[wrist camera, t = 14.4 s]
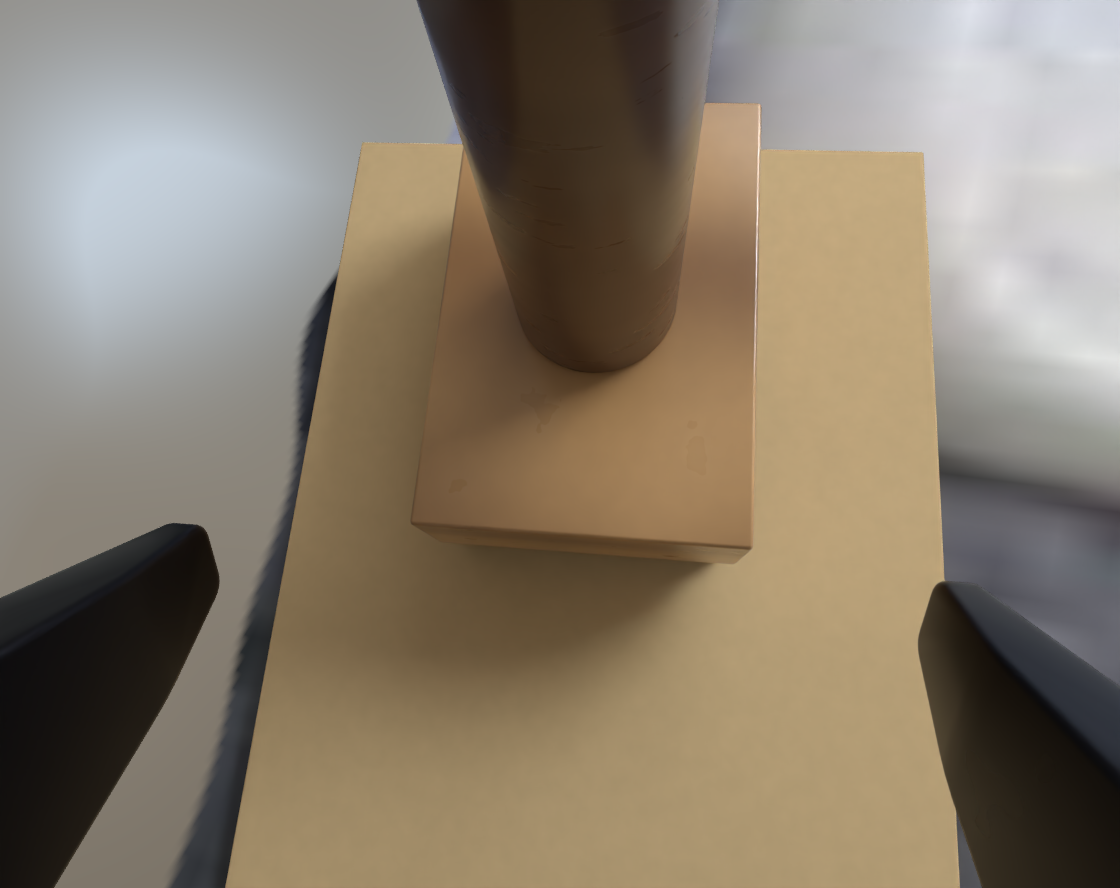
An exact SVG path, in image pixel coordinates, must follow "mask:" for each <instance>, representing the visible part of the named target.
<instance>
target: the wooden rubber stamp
mask: <svg viewBox="0 0 1120 888" xmlns="http://www.w3.org/2000/svg"><path fill="white" fill-rule="evenodd" d="M417 3H418V6H419V9H420V12H421V16H422V19H423V21H424V25H425V28H426V31H427V34H428V37H429V41H430V44H431V47H432V50H433V53H434V56H435V59H436V62H437V66H438V69H439V72H440V75H441V78H442V81H443V84H444V87H445V90H446V94H447V97H448V100H449V103H450V106H451V109H452V112H453V115H454V118H455V122H456V125H457V128H458V131H459V134H460V137H461V140H462V143H463V152H462V159H461V166H460V173H459V180H458V188H457V195H456V202H455V209H454V216H453V223H452V230H451V237H450V244H449V251H448V258H447V265H446V272H445V279H444V286H443V293H442V300H441V307H440V314H439V322H438V329H437V336H436V343H435V350H434V357H433V364H432V371H431V378H430V385H429V392H428V399H427V406H426V413H425V420H424V427H423V434H422V441H421V448H420V456H419V463H418V470H417V477H416V484H415V491H414V498H413V505H412V512H411V519H410V522H411V524H412V525H413V526H415V527H417V528H418V529H420V530H422V531H423V532H425V533H427V534H428V535H430V536H431V537H433V538H435V539H436V540H438V541H440V542H444V543H457V544H470V545H484V546H497V547H510V548H523V549H536V550H549V551H562V552H575V553H588V554H602V555H615V556H628V557H641V558H654V559H667V560H680V561H693V562H706V563H720V564H735V563H737V562H738V561H739V560H740V559H741V558H742V557H744V556H745V555H746V554H747V553H748V552H749V551H751V550H752V548H753V546H754V494H755V439H756V383H757V328H758V273H759V218H760V163H761V105H760V104H750V103H705V98H706V91H707V84H708V76H709V69H710V62H711V55H712V48H713V41H714V34H715V27H716V20H717V12H718V5H719V0H417Z"/></svg>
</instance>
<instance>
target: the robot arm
mask: <svg viewBox="0 0 1120 888" xmlns="http://www.w3.org/2000/svg"><path fill="white" fill-rule="evenodd" d="M218 589H219V573H218V569H217V566H216V562H215V559H214V555H213V551H212V548H211V544H210V541H209V537H208V534H207V532H206V531H205V529H204V528H203V527H201V526H199V525H193V524H180V523H171V524H167V525H164V526H162V527H160V528H157V529H155V530H153V531H151V532H148V533H146V534H144V535H141V536H139V537H137V538H135V539H132V540H130V541H128V542H126V543H123V544H121V545H119V546H117V547H114V548H112V549H110V550H108V551H105V552H103V553H101V554H98V555H96V556H94V557H92V558H89V559H87V560H85V561H83V562H80V563H78V564H76V565H74V566H71V567H69V568H67V569H65V570H62V571H60V572H58V573H56V574H53V575H51V576H49V577H46V578H44V579H42V580H40V581H37V582H35V583H33V584H31V585H28V586H26V587H24V588H22V589H19V590H17V591H15V592H13V593H10V594H8V595H6V596H3V597H2V598H0V888H54V887H55V885H56V884H57V882H58V880H59V879H60V877H61V875H62V873H63V872H64V870H65V869H66V867H67V865H68V864H69V862H70V860H71V859H72V857H73V855H74V854H75V852H76V850H77V849H78V847H79V845H80V844H81V842H82V840H83V839H84V837H85V835H86V834H87V832H88V830H89V829H90V827H91V825H92V824H93V822H94V820H95V819H96V817H97V815H98V814H99V812H100V810H101V809H102V807H103V805H104V804H105V802H106V800H107V799H108V797H109V795H110V794H111V792H112V790H113V789H114V787H115V785H116V784H117V782H118V780H119V779H120V777H121V776H122V774H123V772H124V770H125V768H126V767H127V766H128V764H129V762H130V761H131V759H132V757H133V756H134V754H135V752H136V751H137V749H138V747H139V746H140V744H141V742H142V741H143V739H144V737H145V735H146V734H147V732H148V731H149V729H150V727H151V725H152V724H153V722H154V721H155V719H156V717H157V716H158V714H159V712H160V710H161V709H162V707H163V705H164V703H165V702H166V700H167V698H168V696H169V694H170V692H171V690H172V688H173V686H174V684H175V682H176V680H177V679H178V676H179V674H180V672H181V670H182V668H183V666H184V664H185V661H186V659H187V657H188V655H189V653H190V651H191V649H192V647H193V644H194V642H195V640H196V638H197V636H198V634H199V632H200V630H201V627H202V625H203V623H204V621H205V619H206V617H207V615H208V613H209V610H210V608H211V606H212V604H213V602H214V600H215V598H216V595H217V593H218ZM918 654H919V659H920V664H921V668H922V673H923V678H924V683H925V687H926V692H927V697H928V701H929V706H930V711H931V715H932V720H933V725H934V729H935V734H936V739H937V743H938V748H939V753H940V757H941V761H942V765H943V769H944V774H945V777H946V781H947V784H948V787H949V790H950V793H951V797H952V800H953V803H954V806H955V809H956V812H957V815H958V817H959V820H960V823H961V826H962V829H963V832H964V835H965V838H966V841H967V844H968V847H969V850H970V853H971V856H972V859H973V862H974V865H975V868H976V871H977V874H978V877H979V880H980V882H981V885H982V888H1120V686H1118V685H1117V684H1116V683H1114V682H1113V681H1112V680H1110V679H1109V678H1107V677H1106V676H1105V675H1103V674H1102V673H1100V672H1099V671H1098V670H1096V669H1095V668H1093V667H1092V666H1091V665H1089V664H1088V663H1086V662H1085V661H1084V660H1082V659H1081V658H1079V657H1078V656H1077V655H1075V654H1074V653H1072V652H1071V651H1070V650H1068V649H1067V648H1065V647H1064V646H1063V645H1061V644H1060V643H1059V642H1057V641H1056V640H1054V639H1053V638H1052V637H1050V636H1049V635H1047V634H1046V633H1045V632H1043V631H1042V630H1040V629H1039V628H1038V627H1036V626H1035V625H1033V624H1032V623H1031V622H1029V621H1028V620H1026V619H1025V618H1024V617H1022V616H1021V615H1019V614H1018V613H1017V612H1015V611H1014V610H1013V609H1011V608H1010V607H1008V606H1007V605H1006V604H1004V603H1003V602H1001V601H1000V600H999V599H997V598H996V597H994V596H993V595H992V594H990V593H989V592H987V591H986V590H985V589H983V588H982V587H980V586H979V585H977V584H974V583H965V582H952V581H941V582H939V583H937V584H936V585H935V587H934V588H933V590H932V593H931V596H930V599H929V602H928V606H927V609H926V612H925V615H924V618H923V622H922V625H921V628H920V631H919V636H918Z"/></svg>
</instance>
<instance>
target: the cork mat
mask: <svg viewBox="0 0 1120 888" xmlns="http://www.w3.org/2000/svg"><path fill="white" fill-rule="evenodd" d="M462 152H463V144H421V143H364V142H363V143H362V147H361V152H360V157H359V163H358V168H357V174H356V179H355V185H354V190H353V196H352V201H351V206H350V212H349V217H348V223H347V228H346V234H345V239H344V245H343V250H342V256H341V261H340V266H339V272H338V277H337V283H336V288H335V293H334V299H333V304H332V310H331V315H330V321H329V326H328V331H327V337H326V342H325V348H324V353H323V359H322V364H321V370H320V375H319V380H318V386H317V391H316V397H315V402H314V408H313V413H312V418H311V424H310V429H309V435H308V440H307V446H306V451H305V457H304V462H303V467H302V473H301V478H300V484H299V489H298V495H297V500H296V505H295V511H294V516H293V522H292V527H291V533H290V538H289V543H288V549H287V554H286V560H285V565H284V571H283V576H282V582H281V587H280V592H279V598H278V603H277V609H276V614H275V620H274V625H273V630H272V636H271V641H270V647H269V652H268V658H267V663H266V669H265V674H264V679H263V685H262V690H261V696H260V701H259V707H258V712H257V717H256V723H255V728H254V734H253V739H252V745H251V750H250V756H249V761H248V766H247V772H246V777H245V783H244V788H243V794H242V799H241V804H240V810H239V815H238V821H237V826H236V832H235V837H234V843H233V848H232V853H231V859H230V864H229V870H228V875H227V881H226V886H225V888H960V885H959V865H958V845H957V825H956V809H955V806H954V803H953V800H952V797H951V793H950V790H949V787H948V784H947V781H946V777H945V774H944V769H943V765H942V761H941V757H940V753H939V748H938V743H937V739H936V734H935V729H934V725H933V720H932V715H931V711H930V706H929V701H928V697H927V692H926V687H925V683H924V678H923V673H922V668H921V664H920V659H919V654H918V636H919V631H920V628H921V625H922V622H923V618H924V615H925V612H926V609H927V606H928V602H929V599H930V596H931V593H932V590H933V588H934V587H935V585H936V584H937V583H939V582H941V581H944V562H943V542H942V522H941V501H940V481H939V461H938V441H937V420H936V400H935V380H934V360H933V340H932V319H931V299H930V279H929V259H928V239H927V218H926V198H925V178H924V158H923V153H922V152H870V151H814V150H761V163H760V218H759V273H758V328H757V383H756V439H755V494H754V546H753V548H752V550H751V551H749V552H748V553H747V554H746V555H745V556H744V557H742V558H741V559H740V560H739V561H738V562H737V563H735V564H720V563H706V562H693V561H680V560H667V559H654V558H641V557H628V556H615V555H602V554H588V553H575V552H562V551H549V550H536V549H523V548H510V547H497V546H484V545H470V544H457V543H444V542H440V541H438V540H436V539H435V538H433V537H431V536H430V535H428V534H427V533H425V532H423V531H422V530H420V529H418V528H417V527H415V526H413V525H412V524H411V522H410V519H411V512H412V505H413V498H414V491H415V484H416V477H417V470H418V463H419V456H420V448H421V441H422V434H423V427H424V420H425V413H426V406H427V399H428V392H429V385H430V378H431V371H432V364H433V357H434V350H435V343H436V336H437V329H438V322H439V314H440V307H441V300H442V293H443V286H444V279H445V272H446V265H447V258H448V251H449V244H450V237H451V230H452V223H453V216H454V209H455V202H456V195H457V188H458V180H459V173H460V166H461V159H462Z"/></svg>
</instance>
